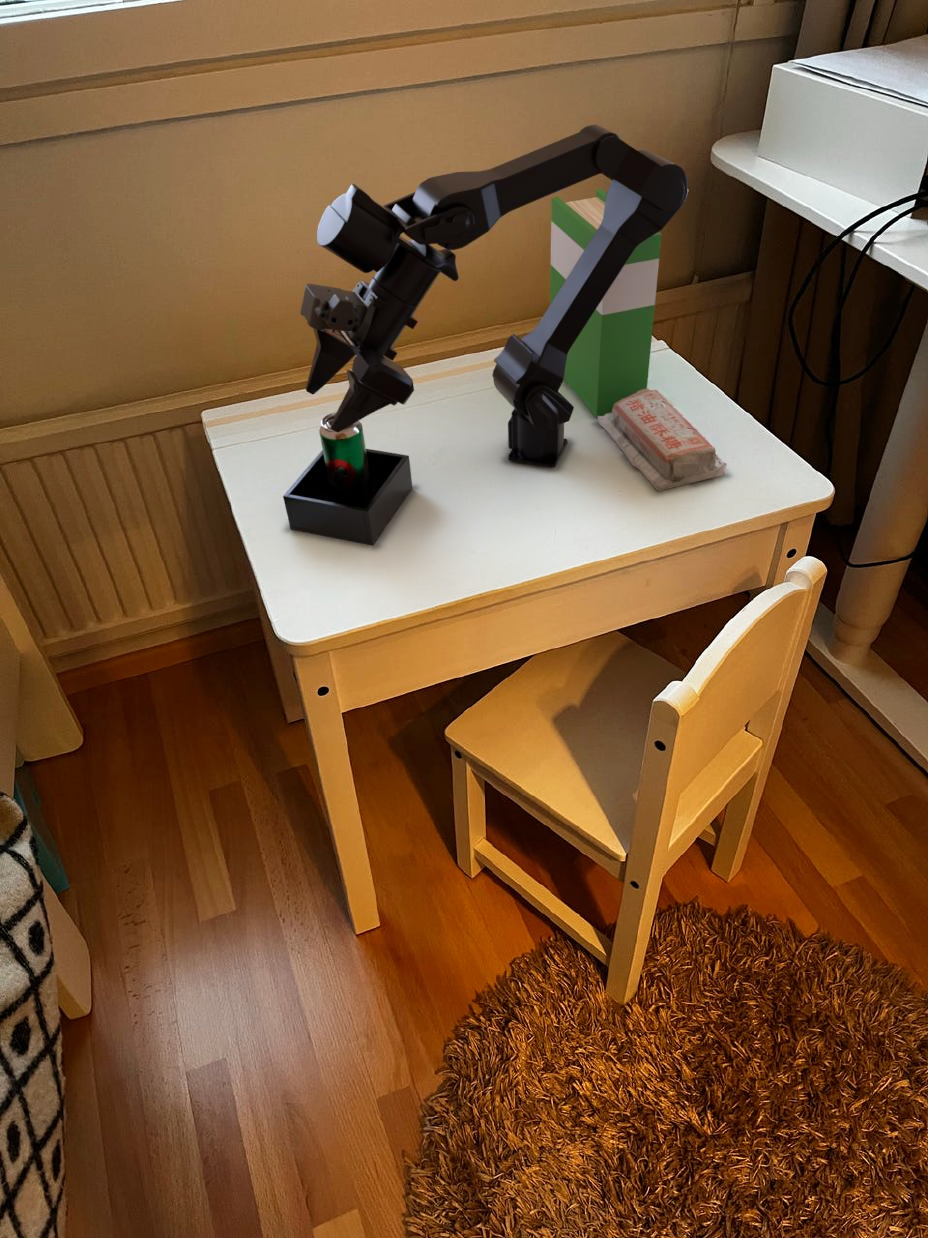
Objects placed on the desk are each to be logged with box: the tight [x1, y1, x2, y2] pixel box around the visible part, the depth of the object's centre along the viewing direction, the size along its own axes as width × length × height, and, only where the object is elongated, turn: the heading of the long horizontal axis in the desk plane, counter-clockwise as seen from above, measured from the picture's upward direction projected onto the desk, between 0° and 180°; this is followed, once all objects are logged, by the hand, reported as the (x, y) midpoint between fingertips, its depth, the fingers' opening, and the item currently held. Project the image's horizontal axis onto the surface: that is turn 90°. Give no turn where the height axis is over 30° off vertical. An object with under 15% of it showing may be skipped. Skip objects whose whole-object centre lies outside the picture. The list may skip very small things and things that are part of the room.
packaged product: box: [597, 388, 727, 491], centre depth 119 cm, size 18×5×10 cm
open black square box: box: [282, 448, 413, 547], centre depth 113 cm, size 11×12×5 cm
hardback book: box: [549, 189, 663, 419], centre depth 125 cm, size 18×7×24 cm, turn 18°
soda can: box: [318, 411, 373, 509], centre depth 110 cm, size 5×5×12 cm
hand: (321, 410), depth 105 cm, fingers open, 9 cm apart
